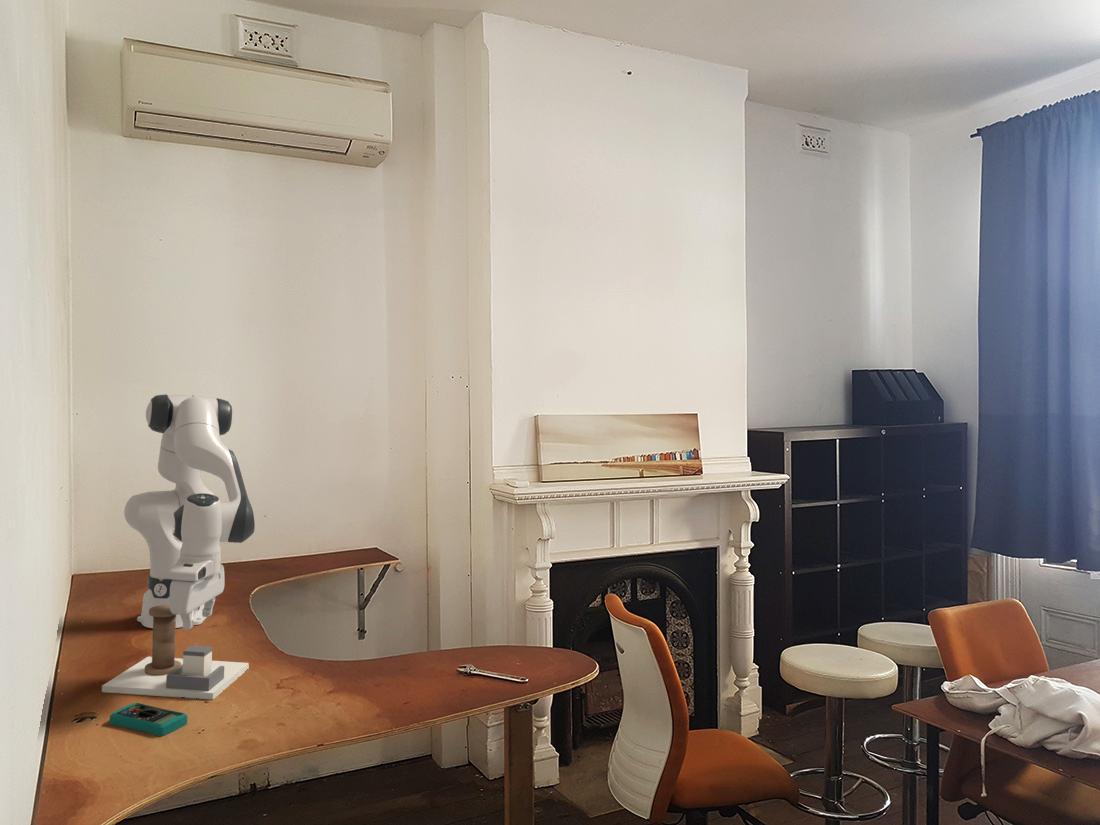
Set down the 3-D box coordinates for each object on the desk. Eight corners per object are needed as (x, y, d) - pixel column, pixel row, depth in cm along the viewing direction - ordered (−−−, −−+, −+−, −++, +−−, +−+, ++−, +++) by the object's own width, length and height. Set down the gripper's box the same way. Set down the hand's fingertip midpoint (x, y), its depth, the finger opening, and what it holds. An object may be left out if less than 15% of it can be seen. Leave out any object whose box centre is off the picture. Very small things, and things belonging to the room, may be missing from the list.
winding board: (148, 662, 207) (148, 644, 207) (248, 668, 206) (249, 651, 206) (101, 692, 187) (102, 672, 187) (212, 699, 186) (213, 680, 186)
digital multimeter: (134, 713, 178) (134, 699, 178) (188, 725, 174) (189, 711, 173) (106, 726, 171) (106, 712, 171) (162, 739, 167) (162, 725, 166)
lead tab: (190, 678, 194) (191, 645, 194) (211, 679, 194) (212, 646, 194) (182, 684, 190) (183, 651, 190) (203, 686, 190) (204, 652, 190)
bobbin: (155, 662, 203) (157, 603, 202) (186, 664, 203) (189, 605, 202) (137, 674, 195) (139, 612, 195) (170, 676, 195) (172, 614, 194)
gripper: (207, 553, 201) (205, 608, 202) (164, 573, 181) (162, 635, 182) (232, 555, 201) (230, 610, 202) (192, 576, 181) (190, 637, 181)
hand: (197, 622), depth 192 cm, fingers open, 8 cm apart
